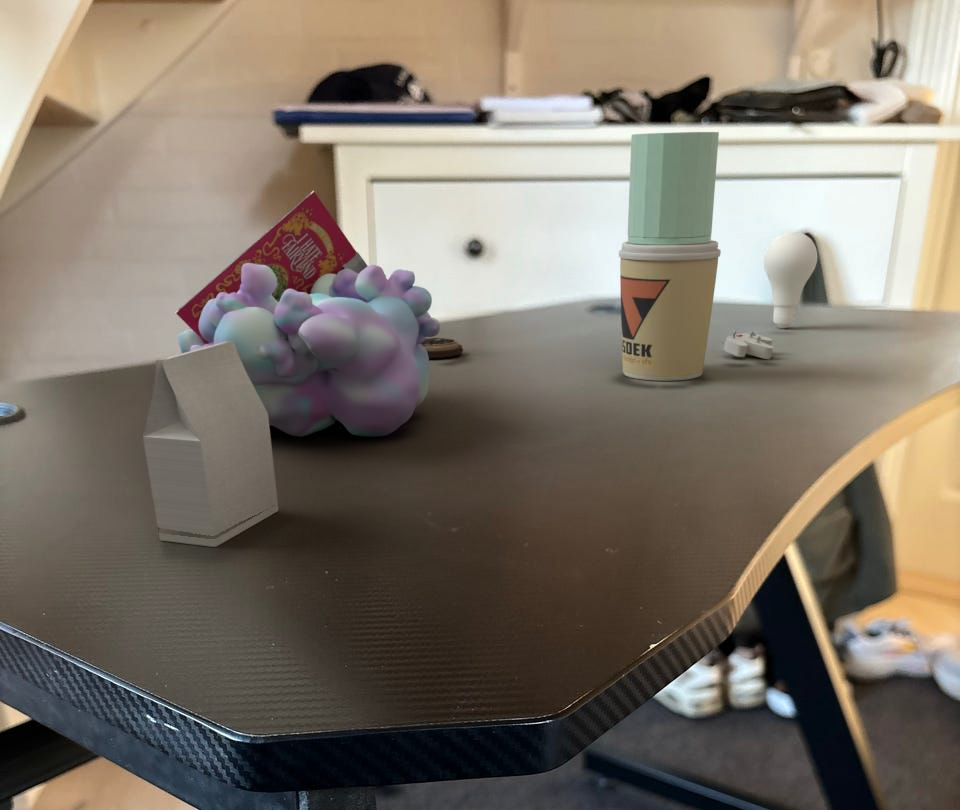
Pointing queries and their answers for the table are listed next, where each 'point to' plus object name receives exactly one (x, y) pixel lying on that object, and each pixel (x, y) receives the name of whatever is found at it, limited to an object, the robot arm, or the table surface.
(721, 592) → the table surface
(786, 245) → the lightbulb
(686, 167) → the glass
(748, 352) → the game controller
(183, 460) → the milk carton
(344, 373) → the pastel lumpy blob
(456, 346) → the compass
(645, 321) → the coffee cup
